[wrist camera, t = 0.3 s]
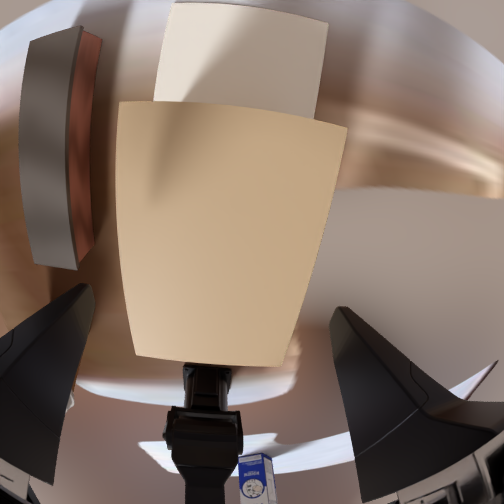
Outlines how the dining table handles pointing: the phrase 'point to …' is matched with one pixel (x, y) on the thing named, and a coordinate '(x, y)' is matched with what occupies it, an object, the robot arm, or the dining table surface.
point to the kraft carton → (220, 226)
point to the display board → (241, 58)
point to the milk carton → (256, 479)
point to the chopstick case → (58, 145)
